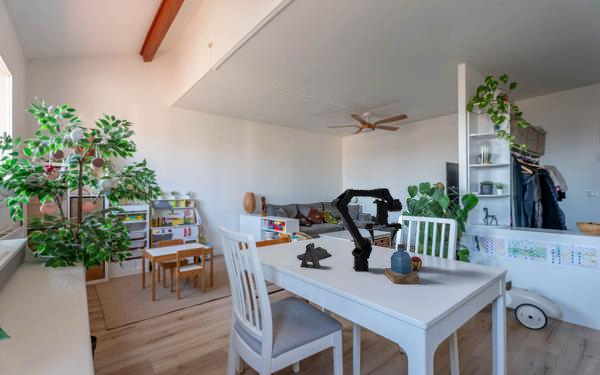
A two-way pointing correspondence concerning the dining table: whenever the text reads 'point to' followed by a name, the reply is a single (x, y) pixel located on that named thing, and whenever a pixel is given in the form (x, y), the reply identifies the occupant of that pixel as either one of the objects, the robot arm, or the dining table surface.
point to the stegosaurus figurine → (320, 254)
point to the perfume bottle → (401, 260)
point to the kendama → (416, 263)
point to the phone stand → (311, 251)
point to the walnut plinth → (401, 276)
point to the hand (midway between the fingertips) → (382, 242)
